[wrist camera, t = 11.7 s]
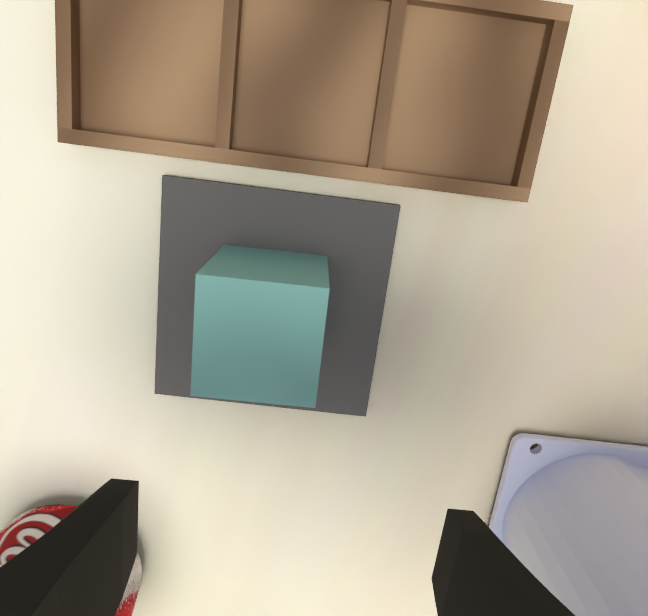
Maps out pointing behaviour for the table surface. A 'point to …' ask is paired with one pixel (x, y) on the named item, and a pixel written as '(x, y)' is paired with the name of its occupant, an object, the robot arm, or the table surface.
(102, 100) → the organizer
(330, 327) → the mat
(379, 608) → the table surface
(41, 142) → the table surface
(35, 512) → the soda can
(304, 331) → the teal block
